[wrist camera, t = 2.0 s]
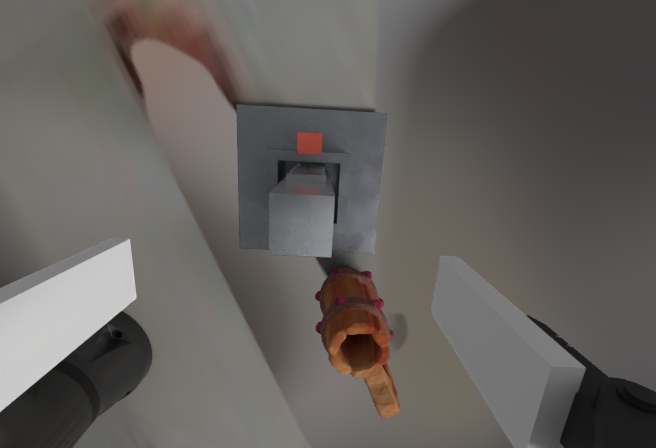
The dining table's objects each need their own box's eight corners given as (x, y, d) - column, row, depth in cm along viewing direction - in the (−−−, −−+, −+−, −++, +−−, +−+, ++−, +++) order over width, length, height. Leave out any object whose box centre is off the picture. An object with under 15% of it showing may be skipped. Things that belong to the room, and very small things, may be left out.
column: (293, 199, 39) (268, 254, 19) (294, 162, 38) (269, 183, 18) (325, 200, 39) (331, 257, 20) (326, 164, 38) (335, 186, 18)
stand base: (241, 246, 41) (221, 273, 33) (238, 105, 37) (214, 93, 28) (372, 251, 42) (386, 279, 34) (385, 113, 38) (405, 105, 29)
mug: (307, 271, 43) (301, 337, 28) (360, 248, 42) (382, 303, 28) (348, 351, 46) (361, 447, 32) (397, 331, 46) (435, 419, 31)
